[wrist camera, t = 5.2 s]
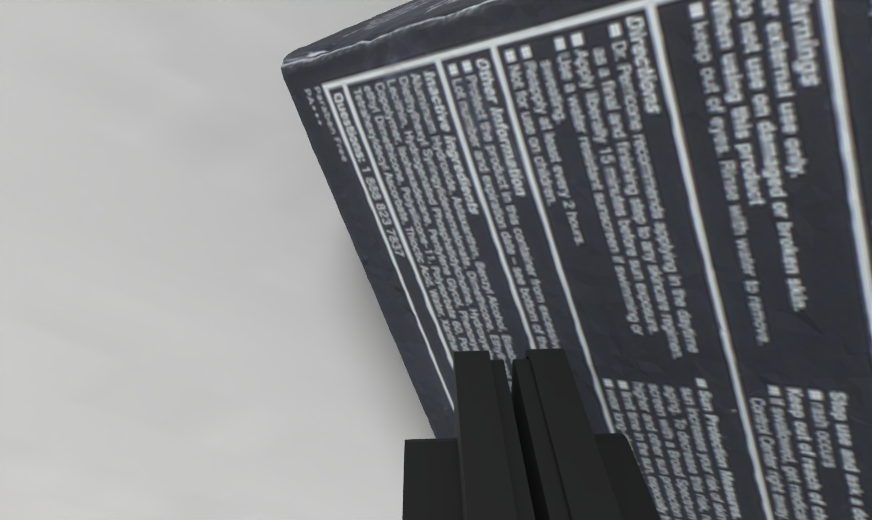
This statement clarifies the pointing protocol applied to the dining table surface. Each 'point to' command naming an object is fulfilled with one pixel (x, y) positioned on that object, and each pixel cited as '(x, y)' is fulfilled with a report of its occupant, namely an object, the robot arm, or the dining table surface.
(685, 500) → the small box
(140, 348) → the dining table surface
